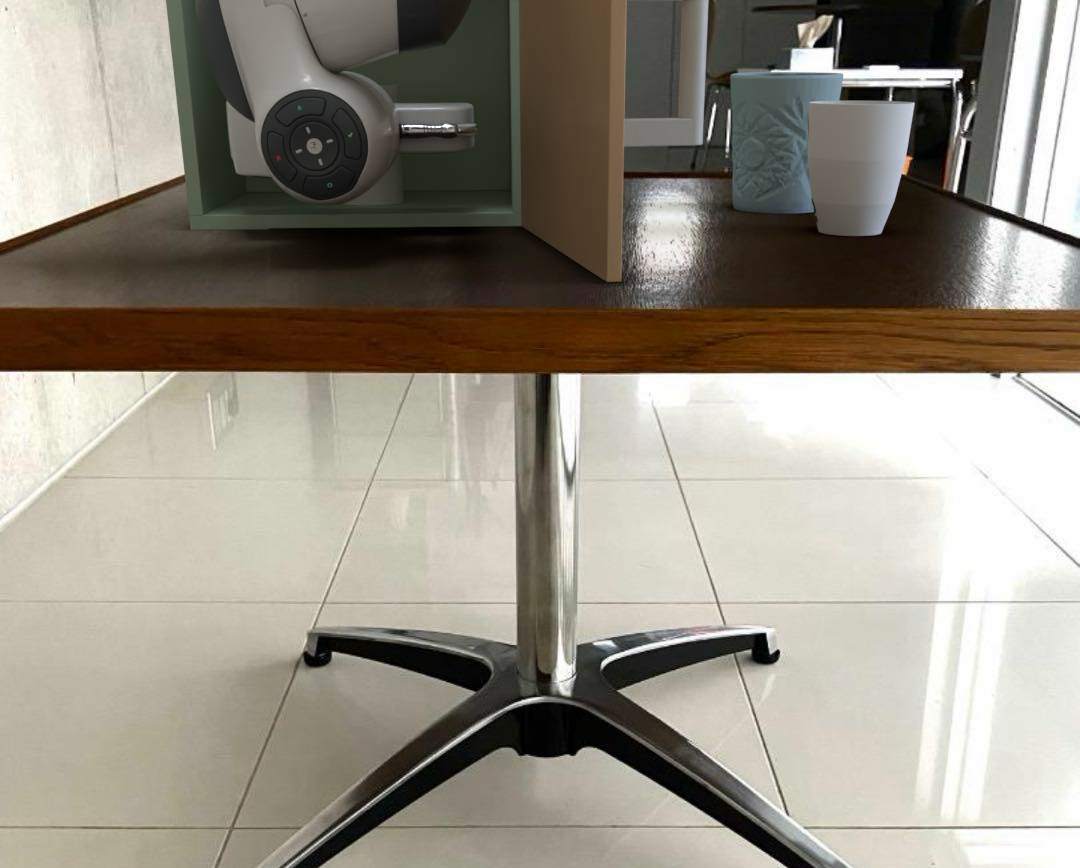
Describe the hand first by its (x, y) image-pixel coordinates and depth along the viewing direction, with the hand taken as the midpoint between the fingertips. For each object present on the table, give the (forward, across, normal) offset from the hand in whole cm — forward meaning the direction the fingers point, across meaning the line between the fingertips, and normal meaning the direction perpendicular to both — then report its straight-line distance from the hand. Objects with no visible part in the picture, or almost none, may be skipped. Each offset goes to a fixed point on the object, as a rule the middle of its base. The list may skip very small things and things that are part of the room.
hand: (361, 123), depth 107 cm
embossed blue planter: (+4, -38, +8) cm, 40 cm away
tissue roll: (+2, 0, +7) cm, 7 cm away
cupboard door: (-21, -20, +8) cm, 30 cm away
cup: (-12, -41, +8) cm, 43 cm away
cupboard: (+3, 0, +8) cm, 9 cm away
